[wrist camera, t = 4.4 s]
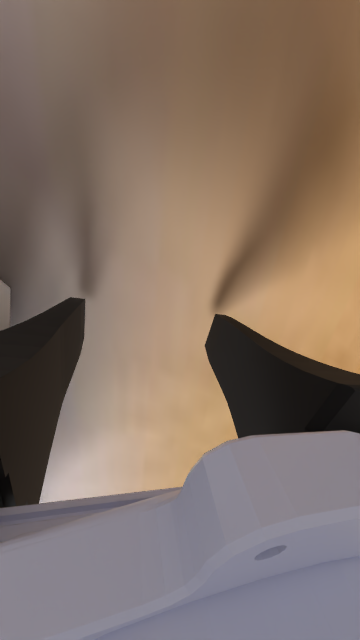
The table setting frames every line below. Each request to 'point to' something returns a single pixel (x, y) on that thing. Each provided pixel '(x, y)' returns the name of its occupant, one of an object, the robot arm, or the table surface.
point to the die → (4, 306)
